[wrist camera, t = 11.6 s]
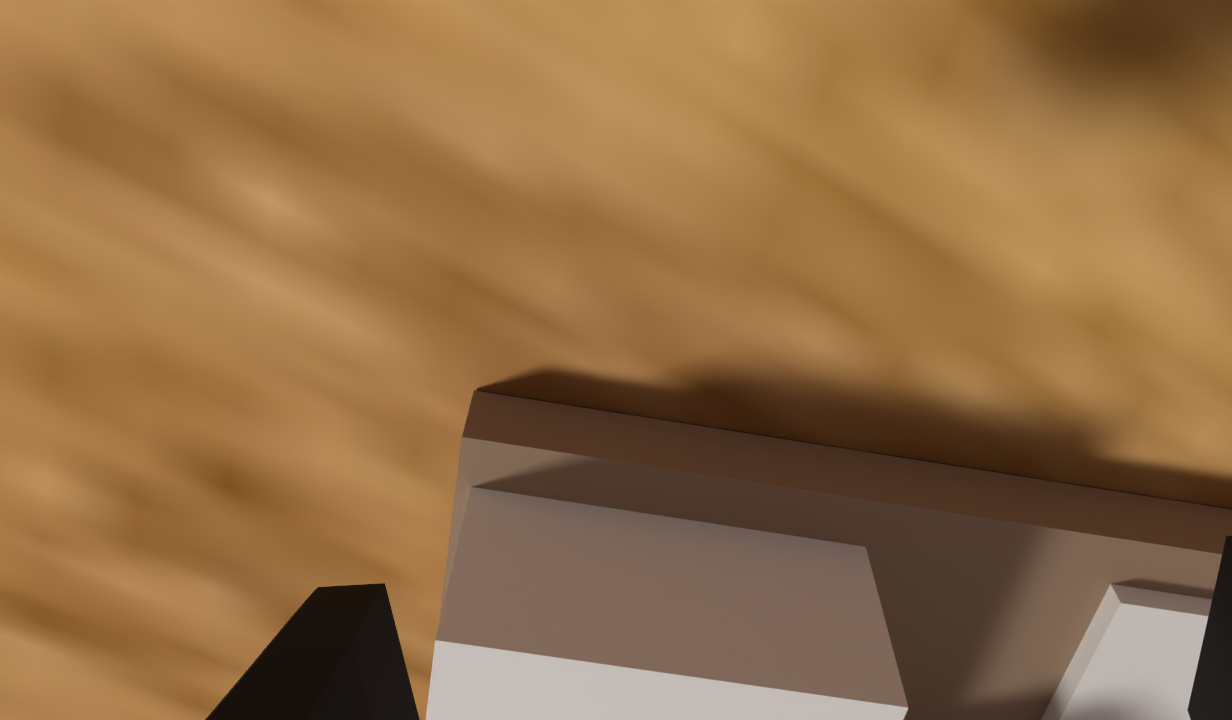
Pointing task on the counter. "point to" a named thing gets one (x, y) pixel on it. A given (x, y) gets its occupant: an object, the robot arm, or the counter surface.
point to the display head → (800, 582)
